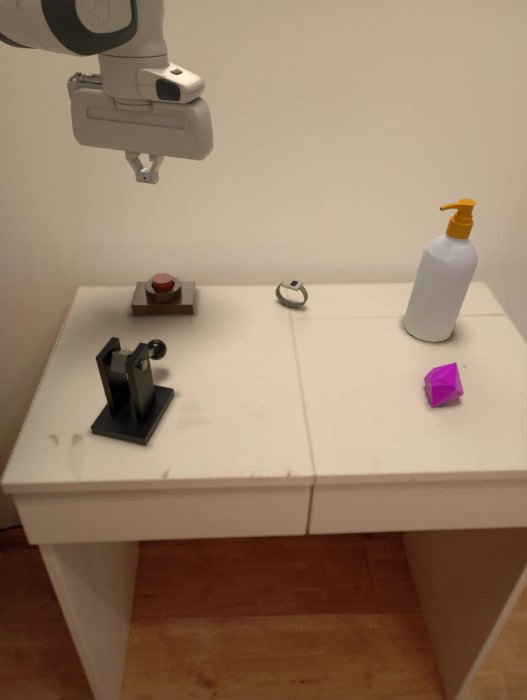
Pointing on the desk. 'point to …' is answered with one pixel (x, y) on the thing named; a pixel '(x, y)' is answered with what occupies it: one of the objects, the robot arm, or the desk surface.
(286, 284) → the wristwatch
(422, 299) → the soap bottle
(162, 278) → the button
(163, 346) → the ball knob lever
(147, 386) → the black lever stand
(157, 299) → the panel
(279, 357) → the desk surface
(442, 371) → the crystal
